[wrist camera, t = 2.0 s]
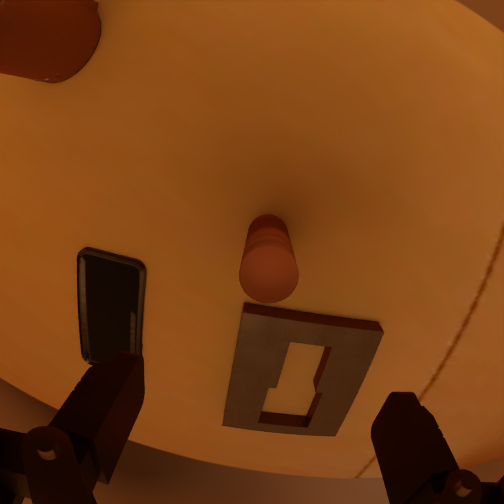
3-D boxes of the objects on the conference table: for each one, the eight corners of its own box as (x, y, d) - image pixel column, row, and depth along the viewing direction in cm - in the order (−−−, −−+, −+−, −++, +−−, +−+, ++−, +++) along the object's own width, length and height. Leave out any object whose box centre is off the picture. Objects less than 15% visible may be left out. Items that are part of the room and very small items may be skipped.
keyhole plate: (244, 302, 30) (242, 312, 28) (378, 322, 30) (384, 331, 28) (223, 414, 35) (222, 425, 33) (332, 425, 35) (334, 436, 33)
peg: (251, 211, 28) (244, 242, 18) (291, 218, 28) (304, 253, 18) (245, 249, 29) (234, 297, 19) (283, 256, 29) (291, 307, 19)
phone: (82, 361, 33) (77, 247, 28) (86, 356, 34) (82, 244, 30) (139, 381, 33) (145, 264, 29) (142, 375, 34) (149, 260, 30)
